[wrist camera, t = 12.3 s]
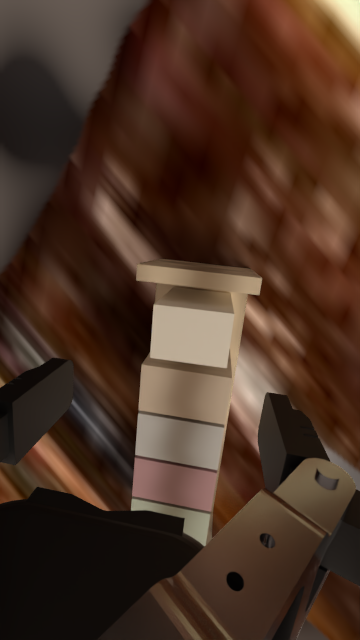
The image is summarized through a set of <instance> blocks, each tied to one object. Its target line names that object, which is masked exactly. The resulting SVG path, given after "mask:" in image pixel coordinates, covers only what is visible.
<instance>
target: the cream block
mask: <svg viewBox="0 0 360 640" xmlns="http://www.w3.org/2000/svg"><path fill="white" fill-rule="evenodd" d="M233 321H234V309H233V303H232V298H231V293H223V292H214V291H205V290H196V289H187V288H178V287H173V288H172V289H171V290H170V291H169V292H167V293H166V294H165V295H164V296H163V297H162V298H160V299H159V300H158V301H157V302H156V303H155V304H154V307H153V321H152V335H151V350H150V358H156V359H163V360H170V361H177V362H184V363H192V364H199V365H206V366H213V367H220V368H227V363H228V356H229V349H230V342H231V335H232V328H233Z"/></svg>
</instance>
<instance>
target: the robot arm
mask: <svg viewBox="0 0 360 640" xmlns="http://www.w3.org/2000/svg"><path fill="white" fill-rule="evenodd" d="M72 399H73V362H72V361H71V360H65V359H59V358H52V359H50V360H49V361H47V362H46V363H44V364H43V365H41V366H40V367H37V368H34V369H31V370H28V371H25V372H24V373H22V374H21V375H19V376H18V377H17V378H16V379H13V380H12V381H10V382H9V384H5V385H4V386H2V387H1V388H0V462H3V463H8V464H13V465H16V464H17V463H18V462H19V461H20V460H21V459H22V458H23V457H24V456H25V454H26V453H27V452H28V451H29V450H30V449H31V448H32V447H33V446H34V445H35V444H36V443H37V442H38V441H39V440H40V438H41V437H42V436H43V435H44V434H45V433H46V432H47V431H48V430H49V429H50V428H51V427H52V426H53V425H54V424H55V422H56V421H57V420H58V419H59V418H60V417H61V416H62V415H63V414H64V413H65V412H66V411H67V410H68V408H69V407H70V405H71V402H72ZM258 446H259V452H260V457H261V463H262V469H263V475H264V481H265V486H266V488H264V489H262V490H261V491H260V492H259V493H258V494H257V495H256V496H255V497H254V498H253V499H252V500H251V501H250V502H249V503H248V504H247V505H246V506H245V507H244V508H243V509H242V510H241V511H240V512H239V513H238V514H237V515H236V516H235V517H234V518H233V519H232V520H231V521H230V522H229V523H228V524H227V525H226V526H225V527H224V528H223V529H222V530H221V531H220V532H219V533H218V534H217V535H216V536H215V537H214V538H213V539H212V540H211V541H210V542H209V543H208V544H207V545H206V546H203V545H202V544H201V543H200V542H199V541H197V540H196V539H194V538H193V537H191V536H189V535H187V534H186V533H184V532H183V528H184V521H185V518H181V517H177V516H172V515H167V514H163V513H158V512H153V511H148V510H134V511H104V510H102V509H100V508H98V507H96V506H94V505H92V504H90V503H88V502H86V501H84V500H82V499H80V498H78V497H76V496H74V495H72V494H68V493H64V492H59V491H54V490H50V489H45V488H40V487H37V488H36V489H35V490H34V491H33V493H32V494H31V495H30V497H29V498H28V499H23V500H15V501H10V502H5V503H2V504H0V640H296V639H297V637H298V634H299V632H300V630H301V627H302V625H303V623H304V621H305V619H306V617H307V615H308V613H309V611H310V609H311V607H312V605H313V603H314V601H315V599H316V597H317V595H318V593H319V591H320V589H321V587H322V585H323V583H324V581H325V579H326V577H327V575H328V573H329V571H332V572H334V573H336V574H338V575H340V576H342V577H344V578H345V579H347V580H349V581H351V582H353V583H355V584H357V585H359V586H360V491H358V490H356V486H355V483H354V481H353V479H352V478H351V476H350V475H349V474H348V473H347V472H346V471H344V470H343V469H342V468H341V467H339V466H337V465H336V464H334V463H332V462H330V460H329V458H328V456H327V454H326V451H325V449H324V447H323V445H322V443H321V441H320V439H319V438H318V435H317V433H316V431H315V430H314V427H313V425H312V423H311V421H310V419H309V418H308V417H307V416H306V415H305V414H303V413H302V412H301V411H300V410H294V409H292V406H291V404H290V401H289V399H288V397H287V395H281V394H275V393H268V392H267V393H266V395H265V399H264V404H263V409H262V414H261V419H260V424H259V430H258Z"/></svg>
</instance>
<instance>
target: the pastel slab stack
mask: <svg viewBox="0 0 360 640" xmlns="http://www.w3.org/2000/svg"><path fill="white" fill-rule="evenodd" d="M136 280H137V281H146V282H154V283H156V295H155V303H156V302H157V301H158V300H159V299H160V298H162V297H163V296H164V295H165V294H166V293H167V292H169V291H170V290H171V289H172V288H173V287H178V288H187V289H196V290H205V291H214V292H223V293H231V298H232V303H233V309H234V321H233V328H232V335H231V342H230V349H229V356H228V363H227V368H220V367H213V366H206V365H199V364H192V363H184V362H177V361H170V360H163V359H156V358H150V353H149V355H148V356H147V357H146V359H145V360H144V362H143V363H142V367H141V381H140V395H139V409H138V410H140V411H139V413H138V422H137V436H136V450H135V455H136V456H135V464H134V478H133V491H132V496H133V497H132V505H131V511H134V510H148V511H153V512H158V513H163V514H167V515H172V516H177V517H181V518H185V521H184V528H183V532H184V533H186V534H187V535H189V536H191V537H193V538H194V539H196V540H197V541H199V542H200V543H201V544H202V545H203V546H206V545H207V544H208V543H209V542H210V541H211V540H212V513H213V507H214V500H215V494H216V488H217V482H218V476H219V470H220V463H221V457H222V451H223V445H224V439H225V432H226V426H227V420H228V414H229V408H230V401H231V395H232V389H233V383H234V377H235V370H236V364H237V358H238V352H239V346H240V339H241V333H242V327H243V321H244V315H245V308H246V302H247V296H248V294H254V295H259V294H260V288H261V282H262V278H261V277H260V276H259V275H258V274H256V273H255V272H254V271H253V270H251V269H249V268H240V267H231V266H222V265H213V264H204V263H195V262H186V261H177V260H168V259H158V260H153V261H149V262H144V263H139V264H137V274H136Z"/></svg>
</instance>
